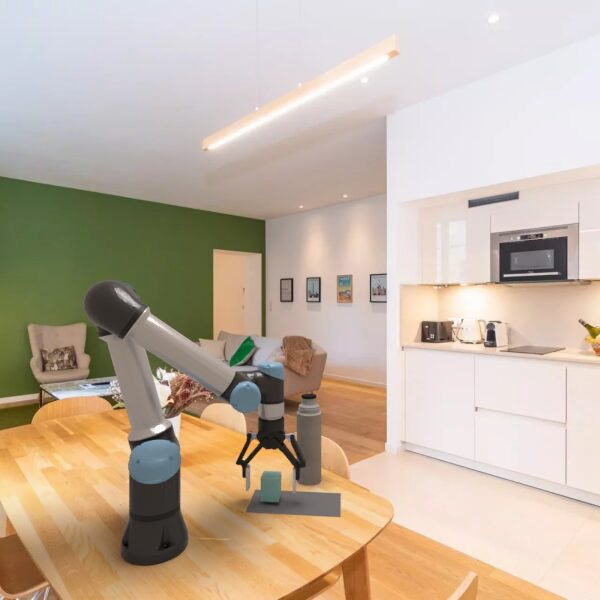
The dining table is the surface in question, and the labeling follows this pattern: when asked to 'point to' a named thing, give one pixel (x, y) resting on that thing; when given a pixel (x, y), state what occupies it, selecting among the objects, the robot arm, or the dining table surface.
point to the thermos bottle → (309, 439)
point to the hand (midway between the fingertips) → (271, 489)
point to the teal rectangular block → (271, 486)
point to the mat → (298, 504)
